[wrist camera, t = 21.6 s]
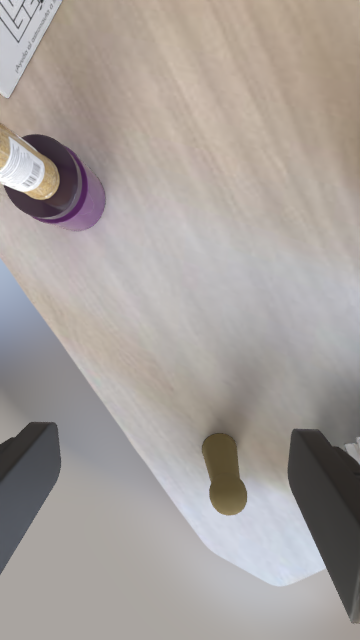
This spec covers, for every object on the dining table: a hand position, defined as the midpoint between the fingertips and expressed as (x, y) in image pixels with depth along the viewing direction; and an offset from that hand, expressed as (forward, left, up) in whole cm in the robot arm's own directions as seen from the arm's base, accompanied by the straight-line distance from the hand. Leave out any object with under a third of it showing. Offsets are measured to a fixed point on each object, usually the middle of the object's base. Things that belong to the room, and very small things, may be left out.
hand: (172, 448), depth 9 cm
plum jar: (-2, -22, -32) cm, 39 cm away
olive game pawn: (+15, +21, -33) cm, 42 cm away
